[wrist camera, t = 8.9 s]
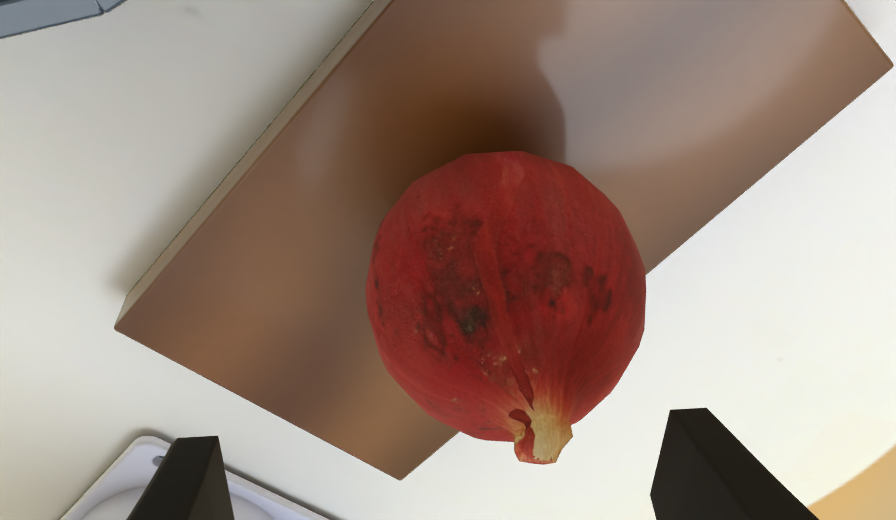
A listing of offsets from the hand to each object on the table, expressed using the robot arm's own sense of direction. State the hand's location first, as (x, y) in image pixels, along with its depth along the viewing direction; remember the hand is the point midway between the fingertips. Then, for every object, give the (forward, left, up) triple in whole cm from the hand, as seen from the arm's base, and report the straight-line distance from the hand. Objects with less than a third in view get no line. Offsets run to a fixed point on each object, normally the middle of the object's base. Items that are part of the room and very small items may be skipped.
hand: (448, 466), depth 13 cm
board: (-1, -1, -10) cm, 10 cm away
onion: (-1, -1, -9) cm, 9 cm away
